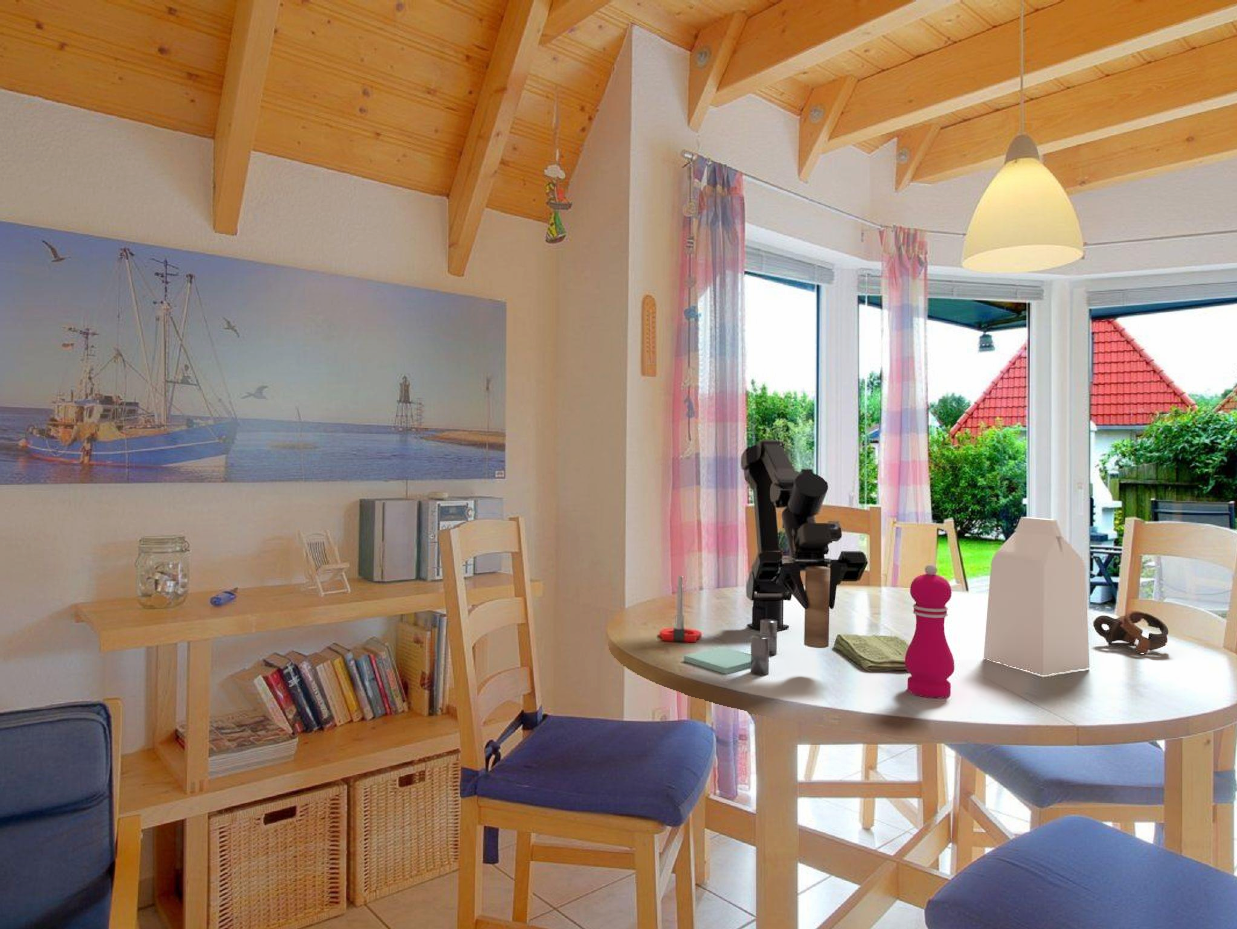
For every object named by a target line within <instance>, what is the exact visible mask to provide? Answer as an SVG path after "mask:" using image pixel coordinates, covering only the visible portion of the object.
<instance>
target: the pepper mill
mask: <svg viewBox="0 0 1237 929" xmlns="http://www.w3.org/2000/svg"><path fill="white" fill-rule="evenodd" d="M924 572H925V573H924V574H919V575H918V576H916V577H914V579H913V580H912V581H911V584H910V589H909V593H910V596H911V598H912V599H913V600H914V602H915V603H914V604H913V605H912V607H913V611H912V613H913V614H914V615H915V630H914V634H913V637H912V638H911V641H910V644H909V647H908V649H907V652H906V656H905V667H906V669H907V672H909V674H910V676H908V677H907V686H906V687H907V690H908V692H910V693H911V694H913V695H916V696H918V697H919V696H920V697H923V696H926V697H925V698H929V697H944V698H947V697H946V696H948V697H949V696H950V695H951V694H952V693H951V682H950V681H949V680H948V679H949V678H950V677H951V676H952V675H953V674H954V672H955V659H954V656H953V653H952V651H951V648H950V647H949V644H948V642H947V638H946V634H945V619H946V617H947V616H949V615H948V610H949V608H948V606H947V605H946V604H947V603H948V602H949V601H950V600H951V598H952V587H951V583H950V582H949V581H948V580H947V579H946V578H945V577H943V576H940V575H938V574H937V573H938V568H937V566H936V565H934V564H931V563H930V564H929V563H928V564H927V565H926V566H925V568H924Z"/></svg>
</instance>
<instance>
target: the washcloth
mask: <svg viewBox="0 0 1237 929" xmlns="http://www.w3.org/2000/svg"><path fill="white" fill-rule="evenodd" d="M909 645H910V644H909V643H908V642H907V641H906V640H905V639H901V637H898V636H896V635H894V636H893V635H882V634H880V635H877V634H872V635H860V634H849V633H848V634H847V633H846V634H845V633H843V634H842V633H839V634H837V636H836V637H835V640H834V644H833V646H834V647H835V649H837V650H838V651H840V652H841V653H842V654H844V655H845V656H846V657H847V658H849V659H851V660H852V661H853V662H855V663H857V665H859V666H861V668H863V669H865V670H866V671H868V670H875V671H904V670H905V671H906V667H905V656H906V652H907V649H908V647H909Z"/></svg>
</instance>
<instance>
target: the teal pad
mask: <svg viewBox="0 0 1237 929" xmlns="http://www.w3.org/2000/svg"><path fill="white" fill-rule="evenodd" d="M683 661H684V662H686V663H688V664H693V665H696V666H697V667H702V668H705V669H709V670H712V671H715V672H719V673H722V674H725V675H728V674H732V673H735V672H739V670H740V671H744V670H747V669H751V653H747V652H744V651H739V650H736V649H734V648H729V647H725V646H719V647H714V648H710V649H706V650H701V651H697V652H692V653H689V654H685V655H683Z"/></svg>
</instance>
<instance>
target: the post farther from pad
mask: <svg viewBox="0 0 1237 929" xmlns="http://www.w3.org/2000/svg"><path fill="white" fill-rule="evenodd" d="M759 631H760V633H759V635H762V636H767V637H769V657H770V656H776V655H777V654H778V651H777V648H778V645H777V644H778V642H777V641H778V631H777V621H776V620H771V619H763V620H761V625H760V630H759Z"/></svg>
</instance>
